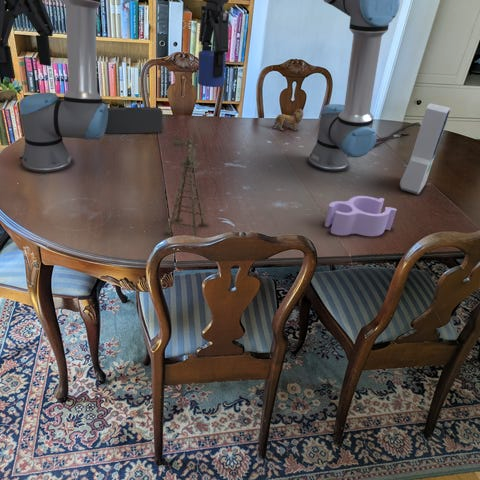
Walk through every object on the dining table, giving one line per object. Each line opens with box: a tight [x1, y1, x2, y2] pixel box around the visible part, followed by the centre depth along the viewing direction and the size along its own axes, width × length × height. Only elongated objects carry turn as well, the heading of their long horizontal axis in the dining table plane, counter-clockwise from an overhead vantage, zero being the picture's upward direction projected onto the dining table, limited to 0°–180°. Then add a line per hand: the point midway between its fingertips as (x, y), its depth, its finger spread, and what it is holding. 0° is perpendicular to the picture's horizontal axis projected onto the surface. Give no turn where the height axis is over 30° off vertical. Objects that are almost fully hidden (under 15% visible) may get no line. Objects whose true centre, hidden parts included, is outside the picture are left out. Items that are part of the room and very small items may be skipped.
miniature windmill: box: [167, 128, 205, 238], centre depth 124 cm, size 9×8×30 cm
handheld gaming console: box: [105, 106, 164, 134], centre depth 189 cm, size 23×3×10 cm, turn 108°
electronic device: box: [399, 102, 452, 195], centre depth 163 cm, size 12×8×30 cm, turn 148°
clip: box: [324, 195, 398, 237], centre depth 141 cm, size 20×12×7 cm, turn 109°
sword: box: [376, 132, 409, 143], centre depth 213 cm, size 31×3×1 cm, turn 126°
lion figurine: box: [271, 108, 305, 131], centre depth 210 cm, size 15×5×9 cm, turn 110°
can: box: [197, 50, 227, 88], centre depth 137 cm, size 8×8×8 cm
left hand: (28, 71), depth 107 cm, fingers open, 13 cm apart
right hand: (211, 72), depth 138 cm, fingers closed on can, 8 cm apart
